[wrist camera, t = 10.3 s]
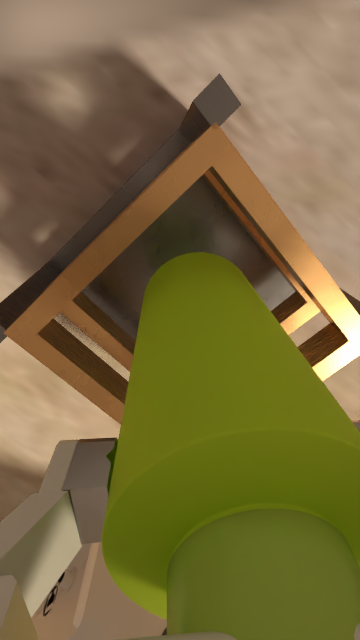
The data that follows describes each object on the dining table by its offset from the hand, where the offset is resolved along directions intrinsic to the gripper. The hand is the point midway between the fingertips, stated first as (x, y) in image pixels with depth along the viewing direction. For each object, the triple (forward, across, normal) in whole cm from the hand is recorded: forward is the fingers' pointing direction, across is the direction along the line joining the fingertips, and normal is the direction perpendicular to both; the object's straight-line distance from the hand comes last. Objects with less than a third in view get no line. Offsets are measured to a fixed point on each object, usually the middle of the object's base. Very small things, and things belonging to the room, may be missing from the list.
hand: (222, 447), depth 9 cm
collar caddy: (+17, 0, 0) cm, 17 cm away
